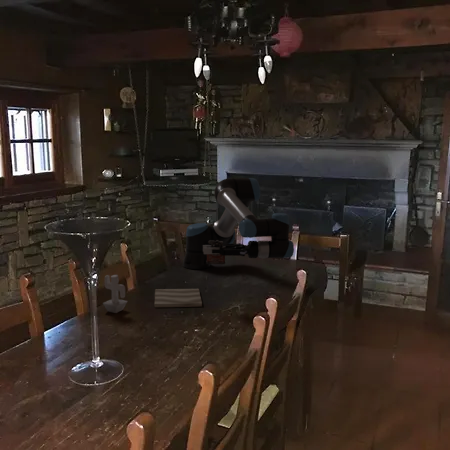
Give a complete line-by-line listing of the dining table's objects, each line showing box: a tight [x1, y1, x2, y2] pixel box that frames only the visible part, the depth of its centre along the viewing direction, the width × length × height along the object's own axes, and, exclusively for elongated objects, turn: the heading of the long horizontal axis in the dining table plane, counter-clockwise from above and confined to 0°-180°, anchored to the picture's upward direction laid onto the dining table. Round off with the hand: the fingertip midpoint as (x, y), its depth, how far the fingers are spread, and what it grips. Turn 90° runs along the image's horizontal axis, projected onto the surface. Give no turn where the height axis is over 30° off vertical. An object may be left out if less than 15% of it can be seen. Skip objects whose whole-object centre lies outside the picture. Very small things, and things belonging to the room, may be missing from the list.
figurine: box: [102, 274, 128, 314], centre depth 206 cm, size 7×9×15 cm
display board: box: [154, 288, 203, 308], centre depth 223 cm, size 20×20×2 cm
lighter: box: [207, 240, 226, 265], centre depth 215 cm, size 8×3×10 cm, turn 86°
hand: (203, 249), depth 214 cm, fingers closed on lighter, 4 cm apart
